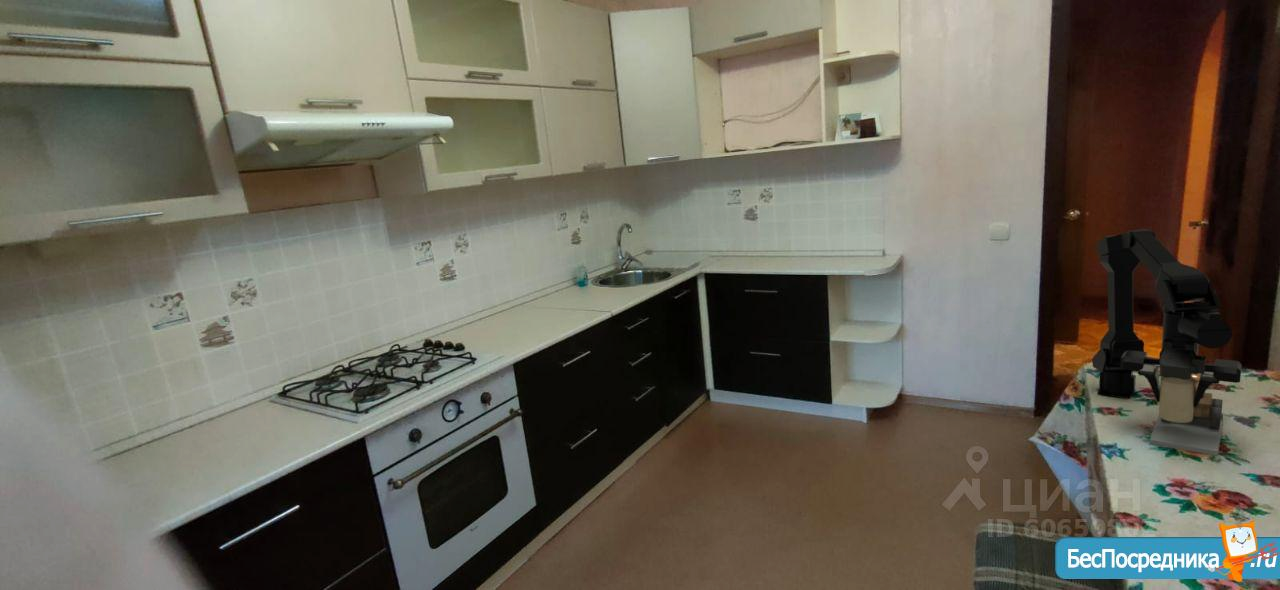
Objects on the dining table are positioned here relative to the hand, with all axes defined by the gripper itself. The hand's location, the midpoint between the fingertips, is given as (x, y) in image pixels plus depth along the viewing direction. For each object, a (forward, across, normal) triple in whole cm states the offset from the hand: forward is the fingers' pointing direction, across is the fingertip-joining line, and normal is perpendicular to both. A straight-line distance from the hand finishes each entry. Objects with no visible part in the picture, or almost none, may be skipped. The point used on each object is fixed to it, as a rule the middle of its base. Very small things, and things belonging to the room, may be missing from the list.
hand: (1176, 403), depth 131 cm
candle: (+3, 0, 0) cm, 3 cm away
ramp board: (+7, +2, +2) cm, 8 cm away
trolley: (+7, +2, +8) cm, 11 cm away
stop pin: (+5, +2, +9) cm, 11 cm away
